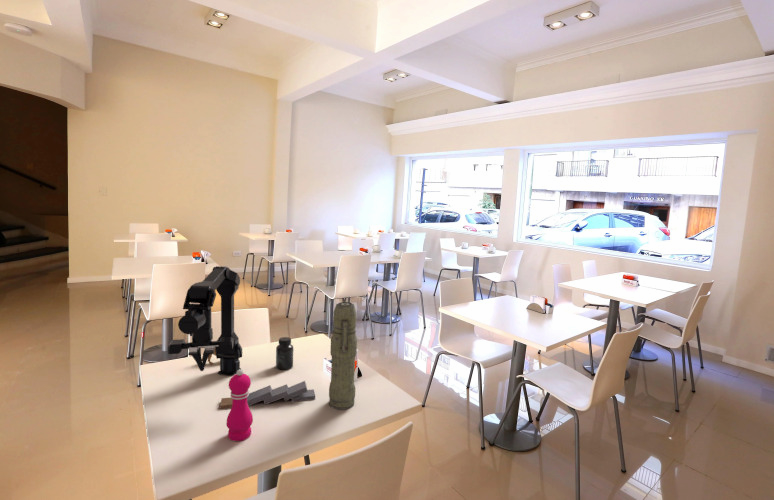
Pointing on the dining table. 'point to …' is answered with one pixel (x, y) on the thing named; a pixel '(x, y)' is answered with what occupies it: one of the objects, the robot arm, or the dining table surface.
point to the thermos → (343, 356)
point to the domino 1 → (226, 403)
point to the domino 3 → (278, 394)
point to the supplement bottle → (284, 354)
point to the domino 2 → (259, 395)
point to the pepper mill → (239, 408)
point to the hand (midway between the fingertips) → (202, 370)
